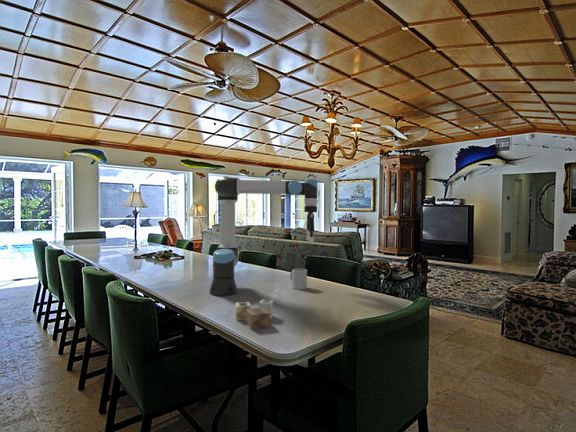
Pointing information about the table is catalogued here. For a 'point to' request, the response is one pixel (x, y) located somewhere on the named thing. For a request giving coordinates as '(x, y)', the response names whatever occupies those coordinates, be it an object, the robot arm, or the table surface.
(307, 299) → the table surface
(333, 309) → the table surface
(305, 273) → the mug
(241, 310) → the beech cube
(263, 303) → the pale square cup
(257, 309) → the walnut block
